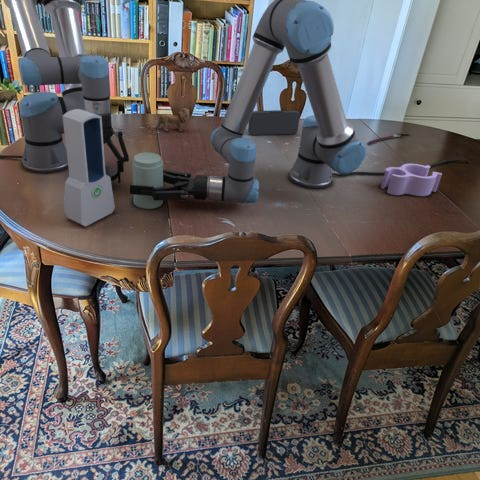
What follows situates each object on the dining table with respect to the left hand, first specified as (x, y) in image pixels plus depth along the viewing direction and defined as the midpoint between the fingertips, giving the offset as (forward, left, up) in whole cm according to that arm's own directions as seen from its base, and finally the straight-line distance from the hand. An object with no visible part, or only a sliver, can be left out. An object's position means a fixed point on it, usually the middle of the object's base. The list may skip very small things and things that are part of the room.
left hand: (103, 181), depth 149 cm
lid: (0, 0, +3) cm, 3 cm away
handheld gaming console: (+50, +69, -2) cm, 86 cm away
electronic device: (+3, -19, -2) cm, 19 cm away
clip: (+102, +30, -2) cm, 107 cm away
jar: (+17, -6, -2) cm, 18 cm away
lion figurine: (+8, +58, -2) cm, 59 cm away
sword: (+103, +82, -2) cm, 132 cm away
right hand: (+12, -7, +5) cm, 14 cm away
